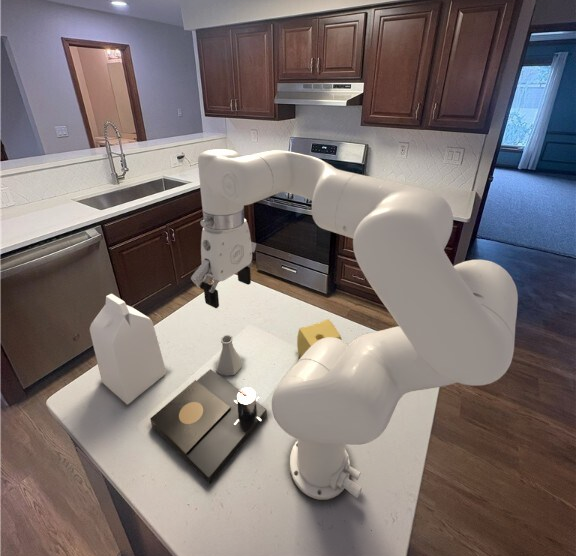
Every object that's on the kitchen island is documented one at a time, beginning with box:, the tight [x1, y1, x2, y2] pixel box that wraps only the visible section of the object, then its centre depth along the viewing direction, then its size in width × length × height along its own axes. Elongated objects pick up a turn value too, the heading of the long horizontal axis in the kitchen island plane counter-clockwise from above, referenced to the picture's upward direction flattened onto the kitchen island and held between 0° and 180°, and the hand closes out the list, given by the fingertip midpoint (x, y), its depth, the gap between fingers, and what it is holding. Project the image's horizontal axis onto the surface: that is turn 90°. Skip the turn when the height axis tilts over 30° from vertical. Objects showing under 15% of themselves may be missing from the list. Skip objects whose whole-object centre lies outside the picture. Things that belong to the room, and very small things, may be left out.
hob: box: [150, 368, 268, 484], centre depth 74 cm, size 21×19×2 cm
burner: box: [149, 379, 231, 455], centre depth 73 cm, size 13×13×1 cm
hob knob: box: [237, 387, 257, 419], centre depth 73 cm, size 4×4×5 cm
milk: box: [89, 293, 167, 406], centre depth 80 cm, size 12×12×26 cm
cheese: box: [296, 318, 343, 358], centre depth 89 cm, size 10×11×10 cm
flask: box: [215, 334, 242, 376], centre depth 87 cm, size 7×7×10 cm
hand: (229, 293), depth 65 cm, fingers open, 9 cm apart
